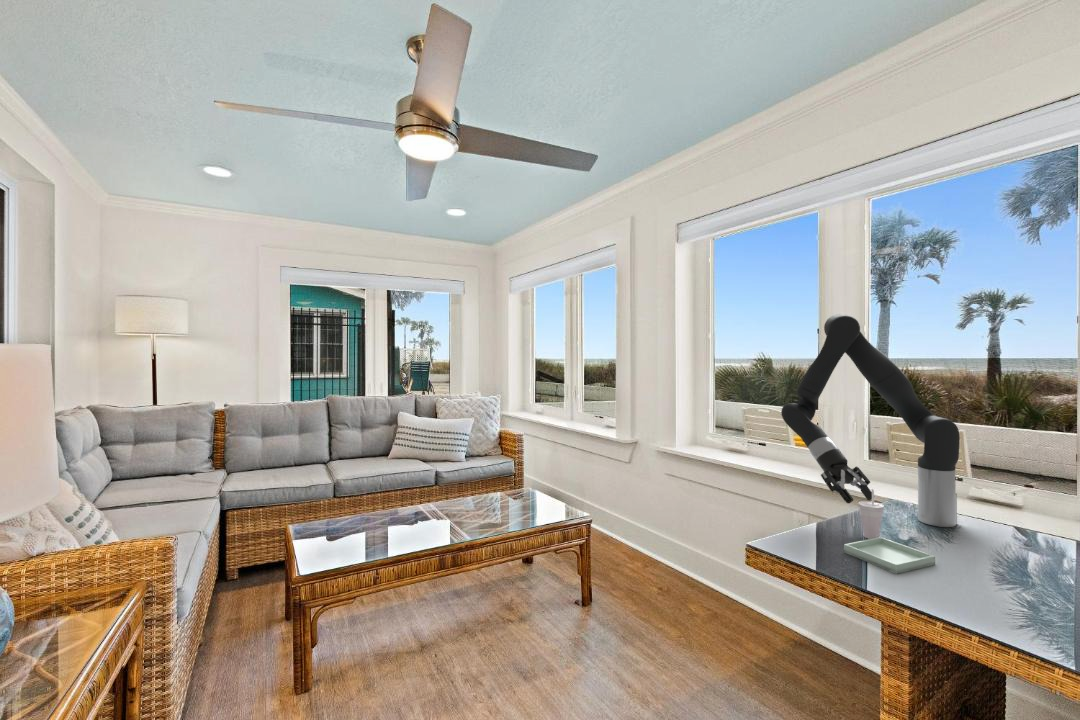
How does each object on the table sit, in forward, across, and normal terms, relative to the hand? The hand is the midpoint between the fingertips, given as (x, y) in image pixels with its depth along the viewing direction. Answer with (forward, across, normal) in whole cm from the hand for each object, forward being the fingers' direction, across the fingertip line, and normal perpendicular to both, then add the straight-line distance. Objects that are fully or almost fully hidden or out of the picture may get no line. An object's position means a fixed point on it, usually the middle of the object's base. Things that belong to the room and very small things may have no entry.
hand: (861, 500), depth 146 cm
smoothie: (+9, 0, +5) cm, 11 cm away
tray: (+18, -10, -4) cm, 20 cm away
